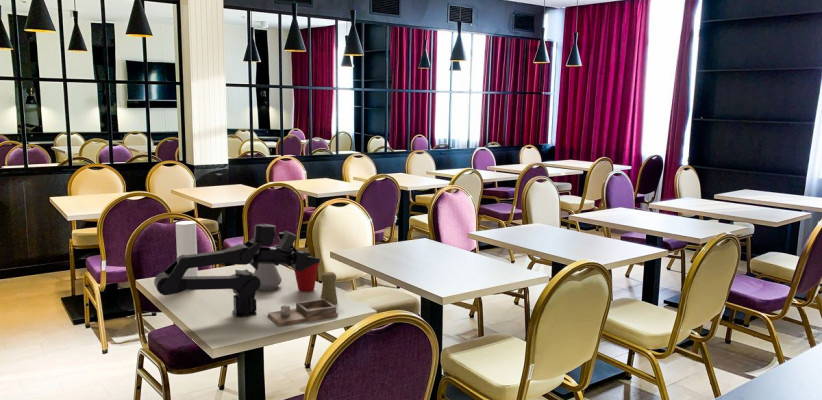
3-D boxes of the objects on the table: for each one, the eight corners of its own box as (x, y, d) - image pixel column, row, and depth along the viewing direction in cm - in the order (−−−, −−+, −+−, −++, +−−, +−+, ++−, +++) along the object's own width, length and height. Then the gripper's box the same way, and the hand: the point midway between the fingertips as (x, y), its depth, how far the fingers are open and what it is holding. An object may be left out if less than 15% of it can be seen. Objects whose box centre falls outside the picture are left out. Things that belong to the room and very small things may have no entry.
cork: (334, 306, 217) (334, 275, 216) (317, 305, 219) (317, 274, 217) (339, 301, 223) (339, 271, 222) (323, 300, 224) (323, 270, 223)
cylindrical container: (194, 290, 234) (191, 224, 231) (175, 290, 234) (172, 224, 231) (201, 285, 241) (198, 221, 238) (182, 284, 241) (179, 220, 238)
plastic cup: (325, 287, 240) (325, 256, 239) (313, 295, 230) (313, 263, 228) (299, 284, 243) (299, 254, 241) (286, 292, 233) (286, 261, 231)
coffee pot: (287, 288, 238) (286, 249, 236) (259, 293, 231) (258, 254, 229) (261, 276, 255) (260, 240, 252) (234, 281, 247) (233, 244, 245)
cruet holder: (279, 326, 197) (278, 313, 196) (268, 316, 206) (267, 303, 206) (337, 316, 207) (337, 304, 206) (324, 307, 216) (324, 295, 216)
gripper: (283, 237, 202) (328, 239, 210) (266, 227, 218) (308, 230, 226) (279, 270, 203) (323, 272, 211) (262, 258, 219) (304, 260, 227)
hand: (315, 257), depth 219 cm, fingers open, 9 cm apart
